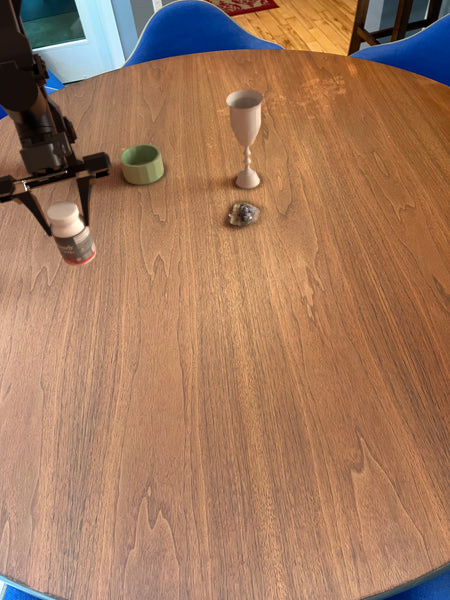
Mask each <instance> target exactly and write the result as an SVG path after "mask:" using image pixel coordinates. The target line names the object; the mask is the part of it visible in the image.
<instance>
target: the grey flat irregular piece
mask: <svg viewBox="0 0 450 600" xmlns="http://www.w3.org/2000/svg"><path fill="white" fill-rule="evenodd" d="M230 213H231V214H228V216H229V217H228V219H227V222H228V223H229V224H231V225H233V226H237V225H238V227H243V226H248V225H249V224H252V225H254V224H256V223H258V220H259V218H260V213H261V211H260V209H259V207H256V206H255V205H252V204H250V203H247V202H238V203H235V204H234V205H233V207H232V211H230Z"/></svg>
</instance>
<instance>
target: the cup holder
mask: <svg viewBox="0 0 450 600" xmlns="http://www.w3.org/2000/svg"><path fill="white" fill-rule="evenodd" d="M119 163H120V166H121V170H122V174H123V177H124V179H125V180H126V181H127V182H128V183H130V184H133V185H136V186H137V185H138V186H140V185H141V186H142V185H148V184H152V183H154V182H156V181H159V179H161V177H162V176H163V175H164V172H165V167H164V163H163V158H162V153H161V149H160V148H159V147H158V146H157V145H154V144H151V143H139V144H133V145H130V146H128V147H126V148H125V149H124V150H123V151H122V152H121V153H120V155H119Z"/></svg>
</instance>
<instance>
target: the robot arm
mask: <svg viewBox="0 0 450 600" xmlns="http://www.w3.org/2000/svg"><path fill="white" fill-rule="evenodd" d="M22 3H23V0H0V106H1V108H2V109H3V110H4V112H5V113H6V114H7V116H8V117H9V118H10V119H11V120H12V121H13V124H14V127H15V130H16V133H17V136H18V137H17V138H18V140H19V143H20V146H21V148H20V149H19V155H20V157H21V161H22V163H23V165H24V167H25V171H26V173H27V174H28V175H30V176H27V177H22V178H19V179H16V178H15V177H13V175H11V174H7V175H3V176H0V205H1V204H5V203H10V202H14V203H16V204H18V205H24V206H25V208H26V209H28V211H29V212H30V213H31V214H32V215H33V217H34V218H35V219H36V221H37V223H39V225H40V226H41V228H42V230H44V232H45V233H46V235H47V236H48V238H51V237H53V236H52V233H51V231H50V223H49V222H48V219H47V217H46V215H45V213H44V210H43V208H42V207H41V204H40V202H39V200H38V197H37V196H36V195H35V194H34V193H32V192H33V190H34V189H38V188H43V187H46V186H50V185H54V184H58V183H61V182H66V181H70V180H74V179H75V181H76V186H77V191H78V194H79V200H80V205H81V211H82V215H83V217H84V220H85V223H86V226H87V227H88V228H89V227H90V222H91V221H90V220H91V219H90V215H91V213H90V212H91V211H90V210H91V197H92V190H93V186H98V184H99V182H98V180H100V179H103V178H108V177H111V176H113V175H114V169H113V165H112V161H111V158H110V155H109V154H108V153H107V152H105V151H101V152H96V153H92V154H88V155H83V156H82V160H80V159H78V158H77V156H76V154H75V150H74V149H73V146H72V144H73V145H75V144H76V140H78V135H77V133H76V130H75V127H74V125H73V121H70V119H69V118H68V117H67V115H65V116H64V114H63V112H62V109H61V107H60V105H59V104H57V103H56V102H55V101H54V100H53V99H52V98H51V97H50V96H49V94H48V92H47V88H46V86H45V85H48V80H50V73H49V69H48V65H47V63H46V60H45V59H44V58H42V56H41V55H39V53H38V52H37V53H35V52H34V49H33V48H32V45H31V42H30V40H29V36H28V34H27V32H26V28H25V26H24V23H23V20H22V17H21V10H22Z"/></svg>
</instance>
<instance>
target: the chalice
mask: <svg viewBox="0 0 450 600" xmlns="http://www.w3.org/2000/svg"><path fill="white" fill-rule="evenodd" d="M225 101H226V104H227V106H228V107H229V123H230V128H231V130H232V132H233V133H232V134H233V135H234V137H235V139H236V140H237V142H238V143H239V145H240V146H242V147H243V148H244V150H243V152H242V155H243V157H244V159H243V160H242V163H243V164H244V168H242V169H241V170H240V171H239V172H238V176H237V178H236V180H235V184H236V186H238V188H242V189H245V190H246V189H247V190H248V189H253V188H255V187H257V186H259V184H260V183H261V182H260V181H261V179H260V178H259V175H258V174H257V172H256V170H255V169H253V168H251V167H250V164H251V163H252V160H251V158H250V156H251V151H250V146H252V145H253V144H254V142H255V140H256V139H257V136H258V133H259V131H260V128H261V125H262V109H261V108H262V107H261V105H262V103H263V101H264V96H263V94H262V92H260V91H258V90H255V89H240V90H236V91H234V92H231V93H230V94H228V95H227V97H226V100H225Z"/></svg>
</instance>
